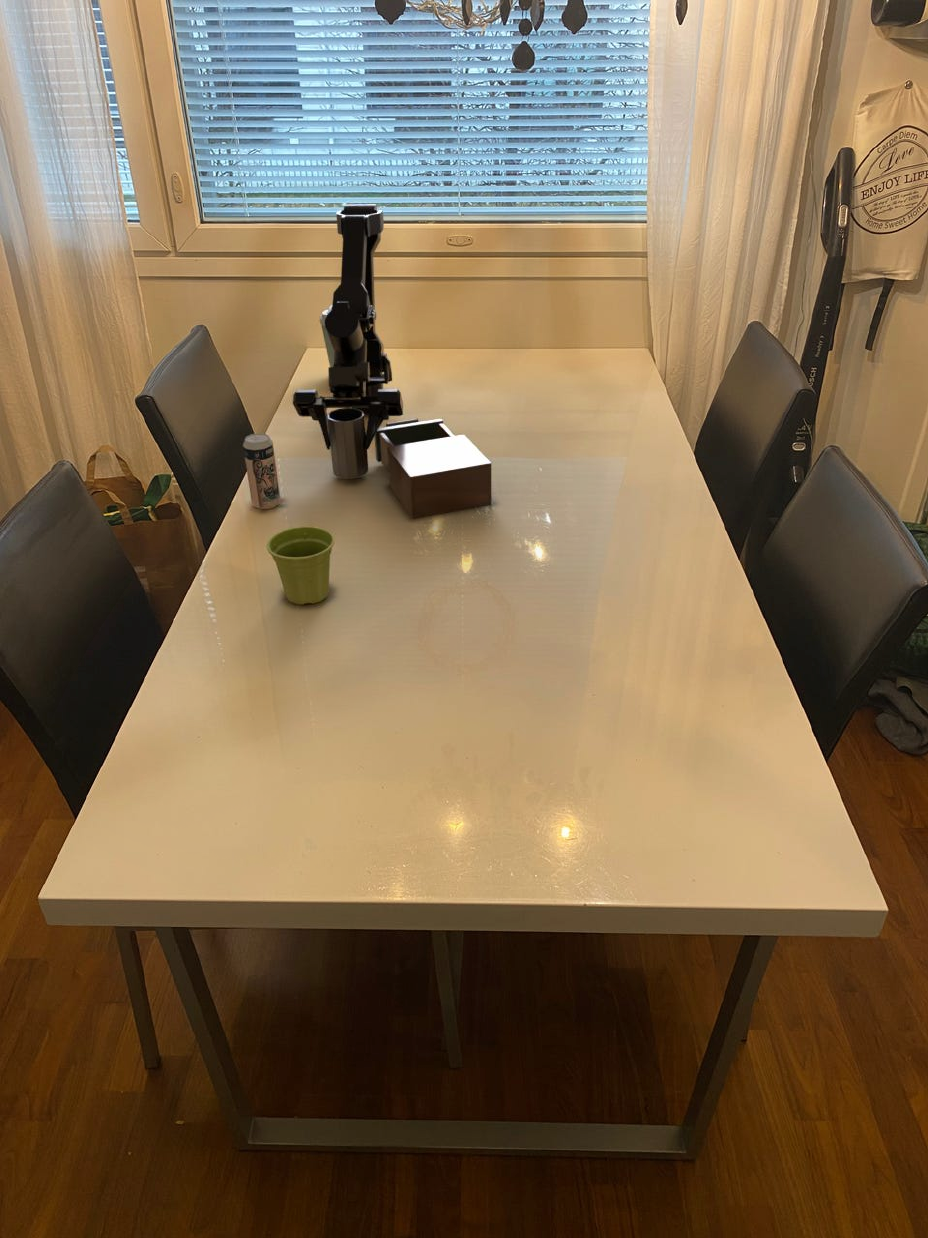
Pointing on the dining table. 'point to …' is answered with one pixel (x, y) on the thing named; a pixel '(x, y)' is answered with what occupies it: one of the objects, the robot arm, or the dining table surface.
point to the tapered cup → (348, 443)
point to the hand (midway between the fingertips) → (347, 448)
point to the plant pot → (303, 562)
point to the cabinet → (439, 476)
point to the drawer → (407, 435)
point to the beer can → (261, 471)
